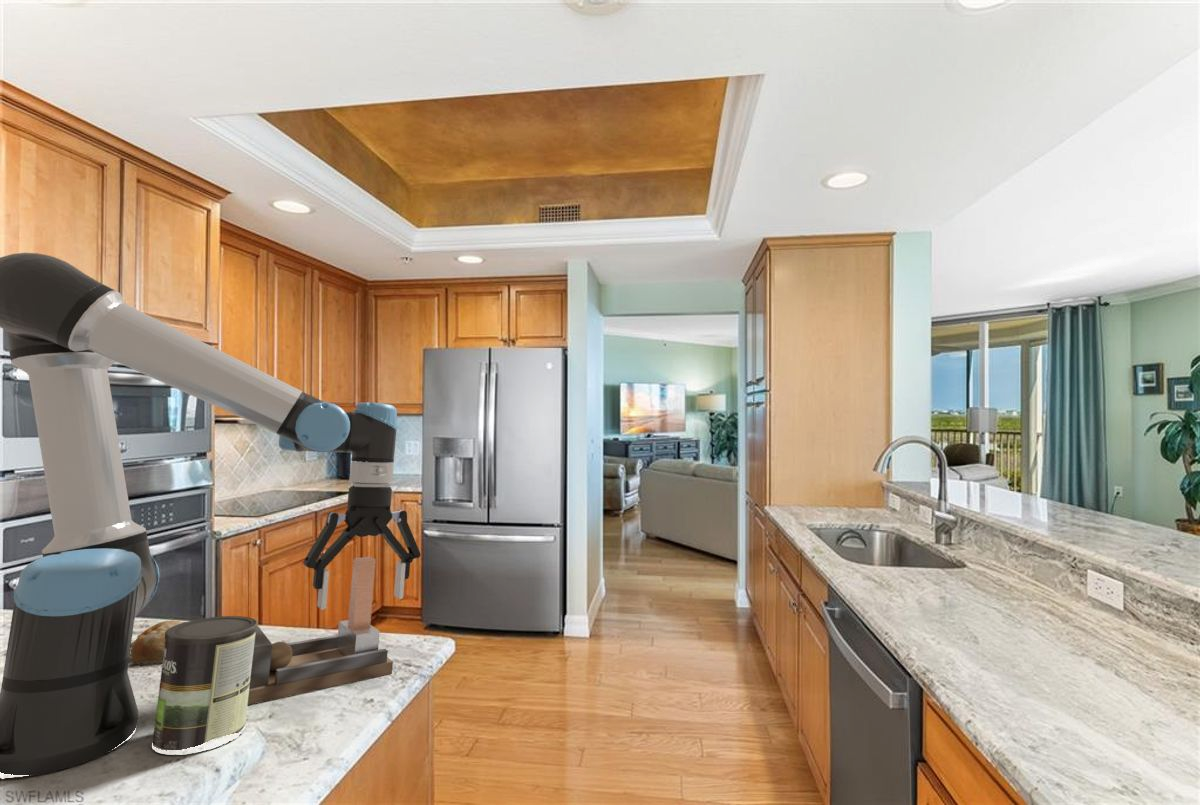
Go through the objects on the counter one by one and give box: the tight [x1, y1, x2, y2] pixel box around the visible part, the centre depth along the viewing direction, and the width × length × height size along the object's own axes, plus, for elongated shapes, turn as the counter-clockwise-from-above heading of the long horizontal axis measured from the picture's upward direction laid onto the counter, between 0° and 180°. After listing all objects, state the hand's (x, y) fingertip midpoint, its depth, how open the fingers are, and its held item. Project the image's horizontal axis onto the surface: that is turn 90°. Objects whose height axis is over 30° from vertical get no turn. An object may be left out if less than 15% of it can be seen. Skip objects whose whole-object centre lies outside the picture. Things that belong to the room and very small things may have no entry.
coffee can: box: [151, 615, 259, 751], centre depth 73 cm, size 10×10×14 cm
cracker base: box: [247, 625, 394, 706], centre depth 94 cm, size 22×14×8 cm, turn 131°
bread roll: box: [129, 620, 185, 665], centre depth 100 cm, size 10×10×8 cm
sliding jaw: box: [337, 556, 381, 656], centre depth 100 cm, size 4×10×17 cm, turn 41°
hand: (361, 602), depth 100 cm, fingers open, 13 cm apart
